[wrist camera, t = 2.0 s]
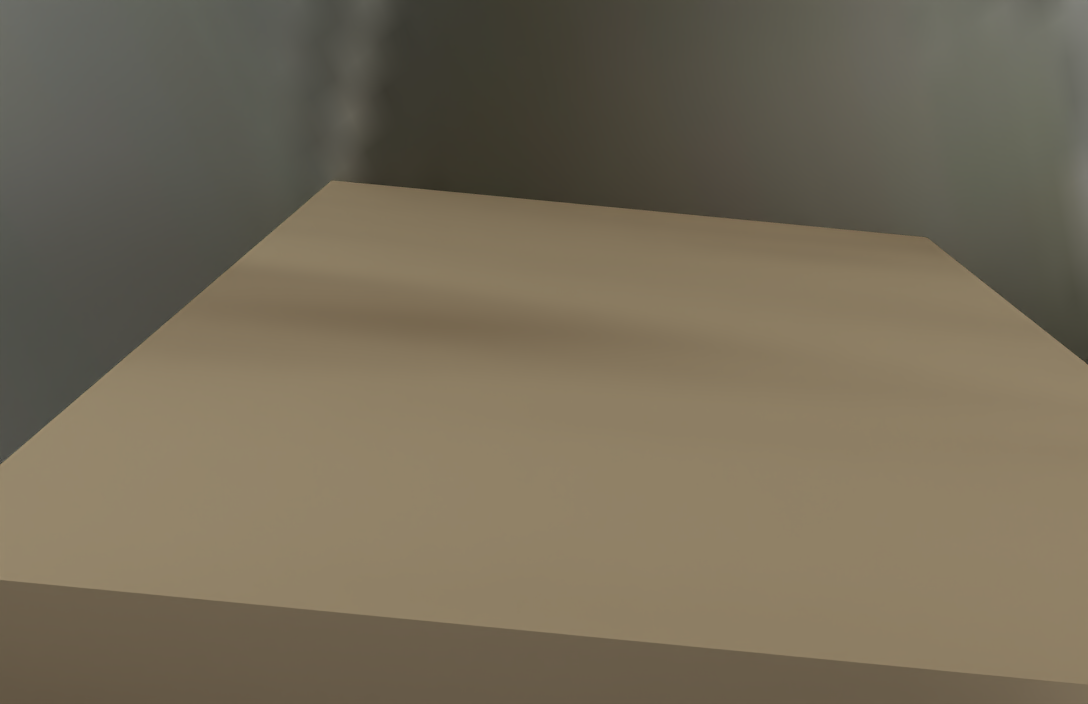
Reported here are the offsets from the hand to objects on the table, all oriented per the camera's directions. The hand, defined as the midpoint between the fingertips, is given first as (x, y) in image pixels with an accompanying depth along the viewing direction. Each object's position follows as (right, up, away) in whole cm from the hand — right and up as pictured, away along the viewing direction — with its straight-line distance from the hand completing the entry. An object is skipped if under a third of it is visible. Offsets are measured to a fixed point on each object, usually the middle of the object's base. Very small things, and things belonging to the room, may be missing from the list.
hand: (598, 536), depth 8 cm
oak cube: (0, +1, +1) cm, 2 cm away
